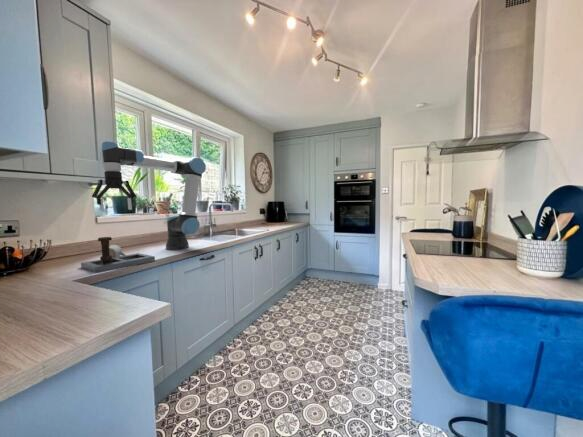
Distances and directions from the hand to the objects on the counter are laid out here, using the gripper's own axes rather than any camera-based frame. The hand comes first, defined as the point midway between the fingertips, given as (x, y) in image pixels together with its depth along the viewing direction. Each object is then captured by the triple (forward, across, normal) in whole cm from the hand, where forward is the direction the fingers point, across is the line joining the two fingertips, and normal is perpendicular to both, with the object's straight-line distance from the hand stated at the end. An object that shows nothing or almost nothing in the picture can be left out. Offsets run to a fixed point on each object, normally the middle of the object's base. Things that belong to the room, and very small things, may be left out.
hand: (116, 210), depth 133 cm
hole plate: (+28, +4, +6) cm, 29 cm away
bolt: (+28, +10, +6) cm, 31 cm away
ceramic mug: (+29, -2, -14) cm, 32 cm away
